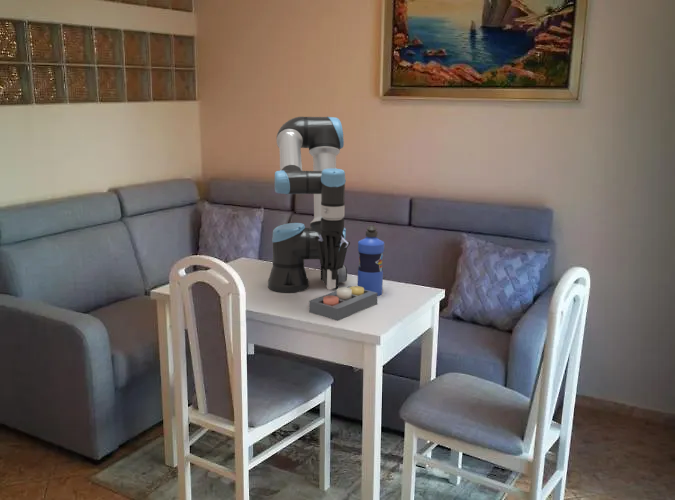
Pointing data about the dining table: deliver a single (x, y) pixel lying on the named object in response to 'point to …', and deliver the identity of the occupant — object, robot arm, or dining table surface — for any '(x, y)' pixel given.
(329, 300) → the coral button
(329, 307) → the console
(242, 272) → the dining table surface
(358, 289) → the ochre button
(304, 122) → the robot arm
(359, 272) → the water bottle
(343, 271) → the camera
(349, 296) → the ivory button
